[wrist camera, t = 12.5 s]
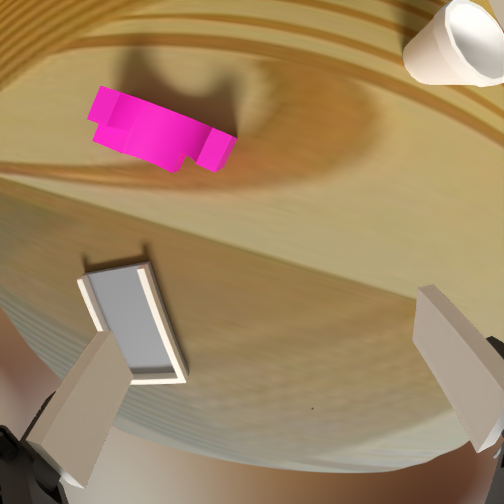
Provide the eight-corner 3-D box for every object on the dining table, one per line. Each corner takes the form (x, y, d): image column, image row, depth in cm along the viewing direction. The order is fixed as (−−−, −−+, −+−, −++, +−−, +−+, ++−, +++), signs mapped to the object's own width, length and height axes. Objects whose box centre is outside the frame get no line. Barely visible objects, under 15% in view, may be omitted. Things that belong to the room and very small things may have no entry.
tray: (84, 272, 40) (76, 280, 37) (150, 261, 39) (143, 268, 36) (129, 374, 46) (124, 384, 43) (189, 372, 45) (186, 382, 43)
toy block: (109, 140, 34) (78, 141, 27) (128, 94, 32) (100, 85, 25) (214, 186, 36) (204, 196, 29) (237, 138, 34) (232, 136, 27)
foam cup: (378, 46, 29) (427, 11, 17) (422, 22, 27) (474, -9, 15) (421, 107, 31) (483, 99, 19) (461, 79, 29) (522, 68, 17)
